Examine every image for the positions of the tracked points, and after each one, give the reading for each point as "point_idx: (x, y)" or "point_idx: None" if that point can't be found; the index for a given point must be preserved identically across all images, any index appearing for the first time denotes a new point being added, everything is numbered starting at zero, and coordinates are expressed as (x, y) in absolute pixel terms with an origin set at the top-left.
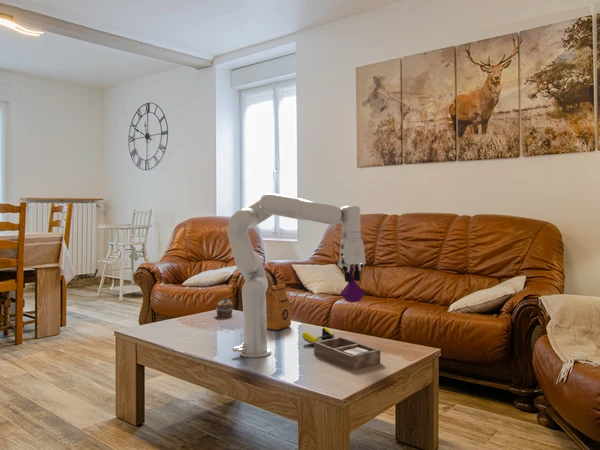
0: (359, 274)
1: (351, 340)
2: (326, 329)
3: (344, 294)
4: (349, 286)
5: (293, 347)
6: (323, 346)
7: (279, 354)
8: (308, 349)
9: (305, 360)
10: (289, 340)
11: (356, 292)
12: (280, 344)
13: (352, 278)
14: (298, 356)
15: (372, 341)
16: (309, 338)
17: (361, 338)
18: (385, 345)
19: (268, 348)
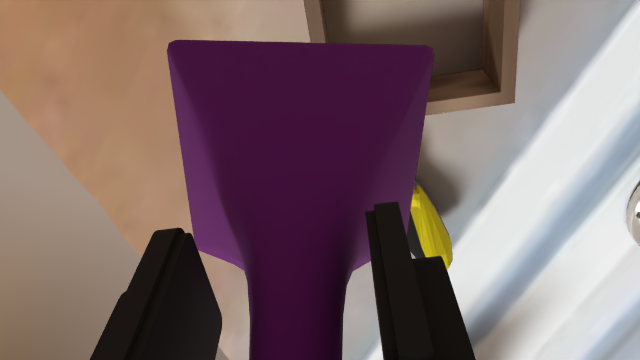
0: (122, 318)
1: (311, 37)
2: None
3: (416, 158)
4: (376, 179)
5: (504, 209)
6: (517, 11)
7: (624, 147)
8: (467, 158)
9: (594, 7)
10: (457, 293)
11: (300, 66)
12: (522, 264)
13: (298, 284)
14: (576, 83)
15: (123, 141)
16: (437, 221)
17: (155, 202)
18: (84, 53)
19: (637, 211)
